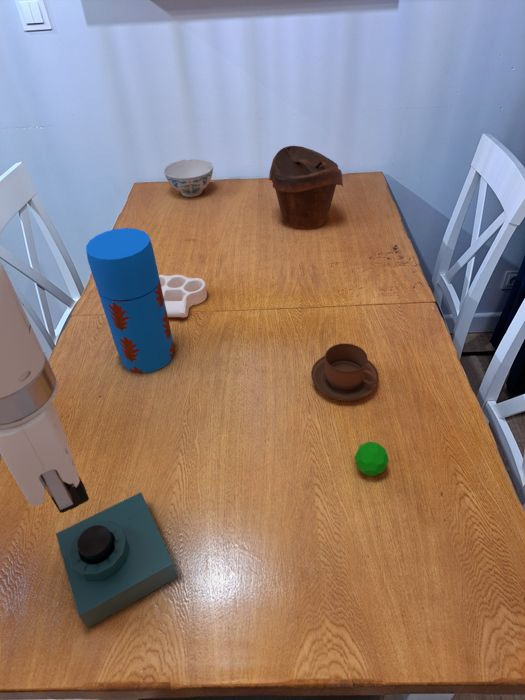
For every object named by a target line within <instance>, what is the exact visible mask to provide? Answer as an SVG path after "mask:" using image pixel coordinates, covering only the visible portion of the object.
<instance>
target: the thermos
mask: <svg viewBox="0 0 525 700" xmlns="http://www.w3.org/2000/svg"><path fill="white" fill-rule="evenodd" d="M85 251H86V257H87V263H88V265H89V268H90V271H91V274H92V278H93V281H94V285H95V287H96V290H97V293H98V297H99V300H100V302H101V305H102V306H101V307H102V309H103V311H104V315H105V318H106V321H107V324H108V327H109V330H110V333H111V336H112V340H113V342H114V345H115V348H116V351H117V354H118V356H119V359H120V361H121V364H122V365H123V366H124V368H125V369H126V370H129V371H130V372H132V373H138V374H146V373H147V374H148V373H152V372H155V371H159V370H161V369H163V368H164V367H165V366H167V365H168V364H169V363H170V362H172V360H173V358H174V355H175V347H174V339H173V333H172V330H171V325H170V321H169V317H168V315H167V311H166V306H165V302H164V297H163V292H162V288H161V283H160V279H159V275H160V274H159V271H158V266H157V261H156V256H155V252H154V248H153V243H152V240H151V238H150V236H149V234H148V233H146V231H144V230H142V229H138V228H133V227H132V228H131V227H121V228H115V229H110V230H106V231H104V232H101V233H99V234H96V235H95V236H93V237H92V238H91V239H90V240H89V241H88V243H86V245H85Z"/></svg>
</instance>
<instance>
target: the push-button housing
mask: <svg viewBox="0 0 525 700" xmlns="http://www.w3.org/2000/svg"><path fill="white" fill-rule="evenodd" d="M95 525H101V526H104V527H106V528H107V529H108V530H109V532H110V534H111V536H112V538H113V540H114V548H113V551H112V553H111V554H110V556H109V557H108V558H107V559H105V560H104V561H102V562H99V563H89V562H87V561H85V560H84V558H83V557H82V555H81V553H80V552H79V550H78V547H77V543H78V539H79V537H80V535H81V534H82V533H83V532H84V531H85V530H86V529H88V528H89V527H92V526H95ZM55 535H56V539H57V543H58V547H59V550H60V555H61V557H62V561H63V565H64V569H65V572H66V575H67V580H68V583H69V587H70V590H71V594H72V597H73V601H74V603H75V605H74V606H75V608H76V612H77V615H78V617H79V618H80V620H81V621H82V623H83V624H84V625H85V626H86V627H87V629H89V628H91V627H93V626H94V625H96V624H98V623H100V622H101V621H104V620H105V619H107V618H108V617H111V616H112V615H114V614H116V613H117V612H119V611H121V610H123V609H124V608H126V607H128V606H130V605H131V604H133V603H135V602H137V601H139V600H140V599H142V598H143V597H145V596H147V595H149V594H151V593H153V592H155V591H156V590H158V589H159V588H161V587H163V586H165V585H167V584H169V583H171V582H172V581H175V579H178V577H179V576H178V572H177V569H176V567H175V564H174V562H173V559H172V557H171V555H170V552H169V550H168V549H167V546H166V544H165V541H164V540H163V536H162V535H161V533H160V530H159V529H158V526H157V524H156V522H155V519H154V517H153V515H152V513H151V511H150V508H149V506H148V504H147V502H146V499H145V497H144V495H143V492H142V491H140V492H137V493H136V494H134V495H131V496H130V497H127V498H125V499H124V500H122V501H120V502H118V503H116V504H113V505H111V506H110V507H108V508H105V509H103V510H101V511H99V512H97V513H95V514H93V515H91V516H89V517H87V518H85V519H83V520H81V521H79V522H77V523H75V524H72V525H70V526H69V527H66V528H64V529H63V530H61V531H58V532H56V533H55Z"/></svg>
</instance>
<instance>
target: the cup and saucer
mask: <svg viewBox="0 0 525 700" xmlns="http://www.w3.org/2000/svg"><path fill="white" fill-rule="evenodd" d="M310 374H311V376H310V377H311V380H312V383H313V385H314V386H315V388H316V389H317V390H318V391H319V392H320V393H322V394H323V395H325V396H326V397H328V398H331V399H333V400H337V401H346V402H347V401H357V400H361V399H364V398H365V397H367V396H369V395H370V394H372V393H373V392H374V390H375V389H376V387H378V383H379V378H380V376H379V371H378V369H377V367H376V366H375V365H374V364H373V363H372V362H371V361H370V360H369V358H368V354H367V353H366V351H365V350H364V349H363V348H362V347H360V346H358V345H356V344H354V343H337V344H334V345H332V346H330V347H328V349H327V350H326V351H325V355H323V356H321V357H320V358H318V359H317V360H316V361H315V363H314V364H313V366H312V368H311V373H310Z"/></svg>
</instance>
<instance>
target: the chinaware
mask: <svg viewBox="0 0 525 700" xmlns="http://www.w3.org/2000/svg"><path fill="white" fill-rule="evenodd" d="M213 172H214V165H213V164H212V163H211V162H210V161H208V160H205V159H199V158H190V159H189V158H188V159H180V160H177V161H174V162H172V163H168V164H167V166H165V167H164V169H163V174H164V175H165V178H166V180H167V182H168V184H169V185H170V186H171V187H172V188H173V189H174V190H175V191H178V192H179V193H181V195H182V197H187V198H194V197H198V196H200V195H201V194H202V193H203V190H205V188H207V187H208V186H209V184H210V182H211V180H212V177H213Z"/></svg>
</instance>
